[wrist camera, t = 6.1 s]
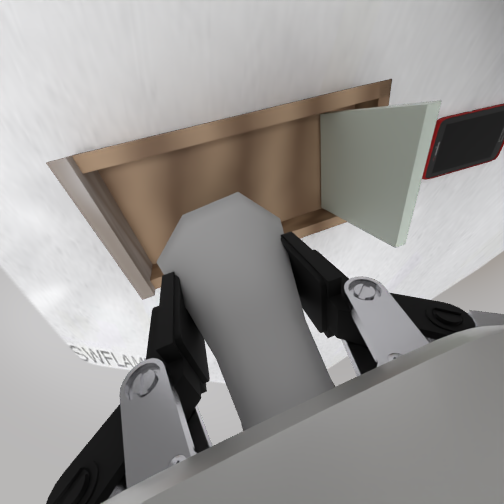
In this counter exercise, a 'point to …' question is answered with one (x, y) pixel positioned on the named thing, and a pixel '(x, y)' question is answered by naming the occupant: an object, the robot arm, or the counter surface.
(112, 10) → the counter surface
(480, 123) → the cell phone
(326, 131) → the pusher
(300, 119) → the wooden rimmed tray
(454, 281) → the counter surface
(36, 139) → the counter surface
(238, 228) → the flask
